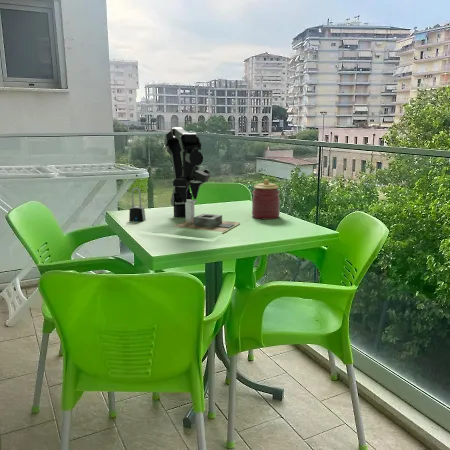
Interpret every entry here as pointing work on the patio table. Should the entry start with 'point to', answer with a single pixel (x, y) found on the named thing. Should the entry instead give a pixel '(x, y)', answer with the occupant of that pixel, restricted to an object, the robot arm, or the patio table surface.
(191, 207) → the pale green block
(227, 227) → the chuck stand
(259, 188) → the canister
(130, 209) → the padlock
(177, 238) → the patio table surface
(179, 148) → the robot arm
